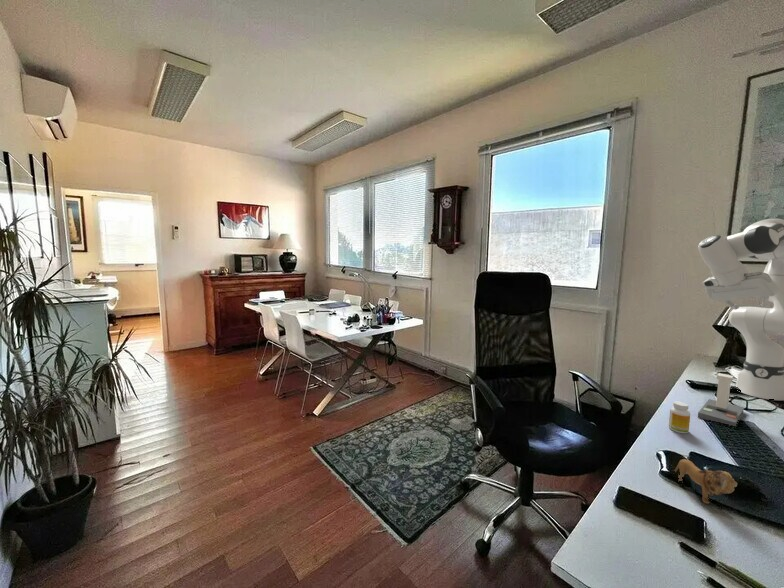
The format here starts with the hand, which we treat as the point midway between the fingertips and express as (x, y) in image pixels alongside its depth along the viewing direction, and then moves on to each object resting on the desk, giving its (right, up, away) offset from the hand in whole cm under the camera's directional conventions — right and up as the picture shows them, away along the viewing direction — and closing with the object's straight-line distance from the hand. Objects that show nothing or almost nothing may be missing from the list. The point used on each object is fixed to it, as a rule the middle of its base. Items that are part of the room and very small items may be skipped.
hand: (750, 308), depth 124 cm
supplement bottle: (-33, -43, -7) cm, 55 cm away
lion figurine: (-55, -46, -39) cm, 82 cm away
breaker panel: (-7, -42, +4) cm, 43 cm away
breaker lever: (-7, -39, +4) cm, 40 cm away
